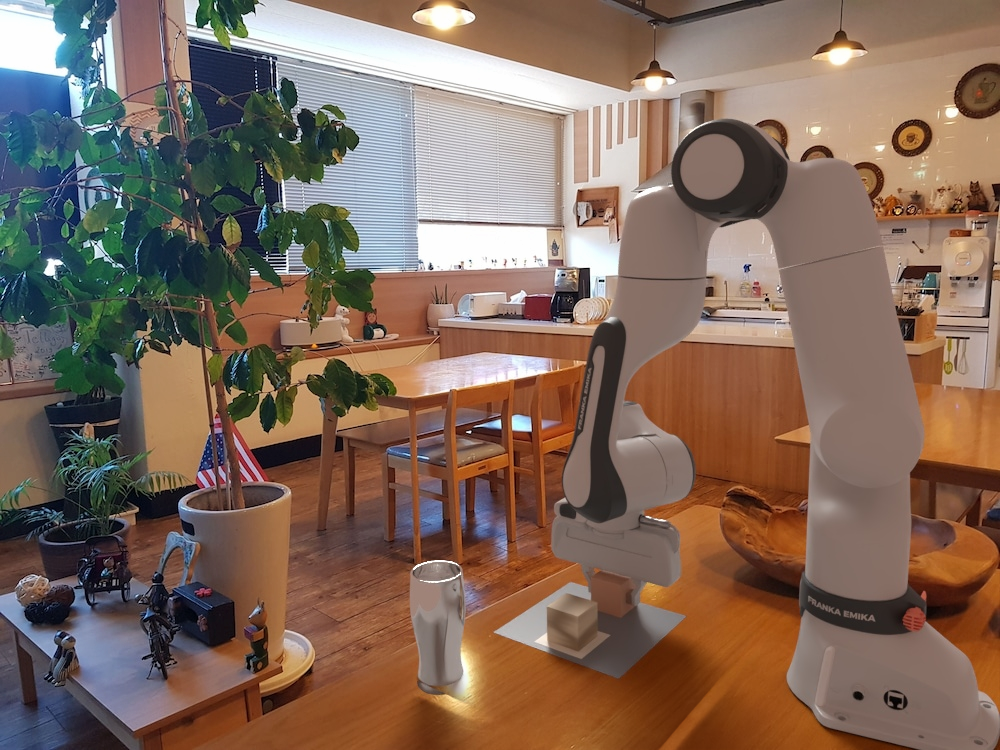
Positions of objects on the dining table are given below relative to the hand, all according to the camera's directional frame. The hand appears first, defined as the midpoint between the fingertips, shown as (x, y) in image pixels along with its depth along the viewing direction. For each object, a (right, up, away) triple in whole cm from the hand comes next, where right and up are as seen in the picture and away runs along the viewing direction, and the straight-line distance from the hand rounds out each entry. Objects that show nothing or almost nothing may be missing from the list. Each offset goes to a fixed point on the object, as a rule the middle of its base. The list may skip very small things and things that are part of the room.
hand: (613, 597), depth 112 cm
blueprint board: (-4, -4, -5) cm, 7 cm away
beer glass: (-25, -6, -16) cm, 30 cm away
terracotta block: (0, -1, 0) cm, 1 cm away
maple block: (-7, -3, -9) cm, 11 cm away
